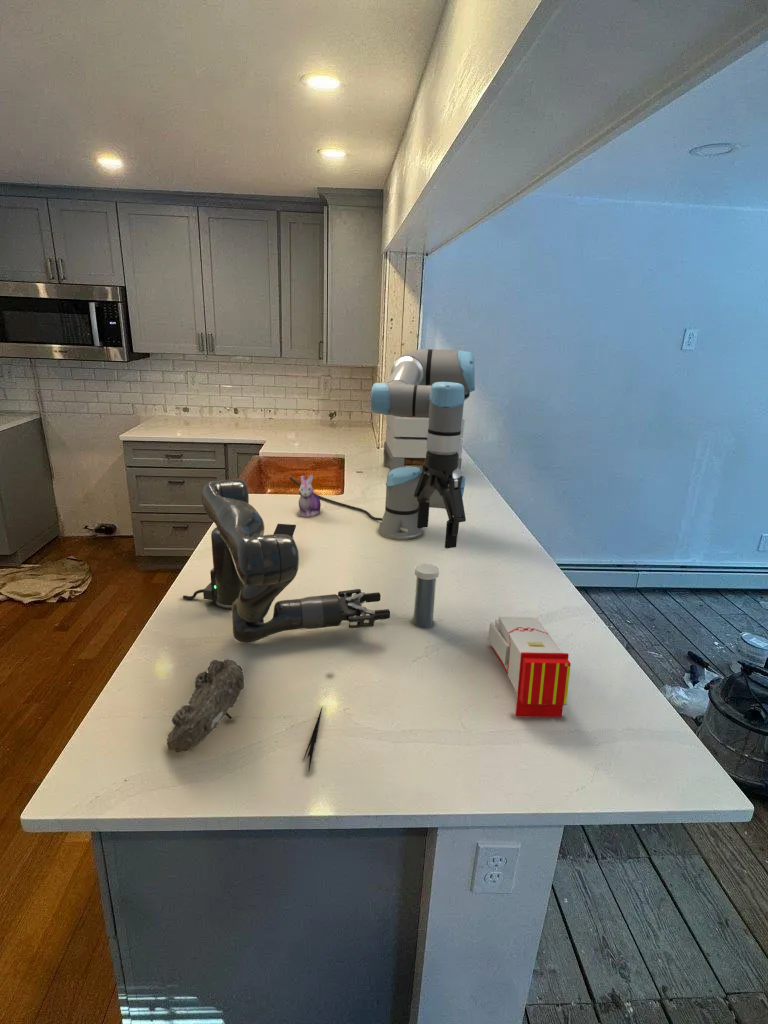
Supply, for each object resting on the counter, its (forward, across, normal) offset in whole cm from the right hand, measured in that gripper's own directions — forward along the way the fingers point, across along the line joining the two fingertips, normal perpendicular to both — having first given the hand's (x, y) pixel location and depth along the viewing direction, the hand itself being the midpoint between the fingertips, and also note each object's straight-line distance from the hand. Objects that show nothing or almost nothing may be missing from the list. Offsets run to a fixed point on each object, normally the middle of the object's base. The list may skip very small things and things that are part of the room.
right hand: (435, 537), depth 137 cm
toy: (+23, -28, -8) cm, 37 cm away
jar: (+23, 0, +2) cm, 23 cm away
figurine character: (+23, +53, +24) cm, 62 cm away
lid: (+8, 0, +2) cm, 9 cm away
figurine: (+23, +85, +5) cm, 88 cm away
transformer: (+22, +123, -63) cm, 140 cm away
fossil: (+23, -16, +56) cm, 63 cm away
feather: (+23, -25, +38) cm, 51 cm away
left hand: (+17, +1, +12) cm, 21 cm away
